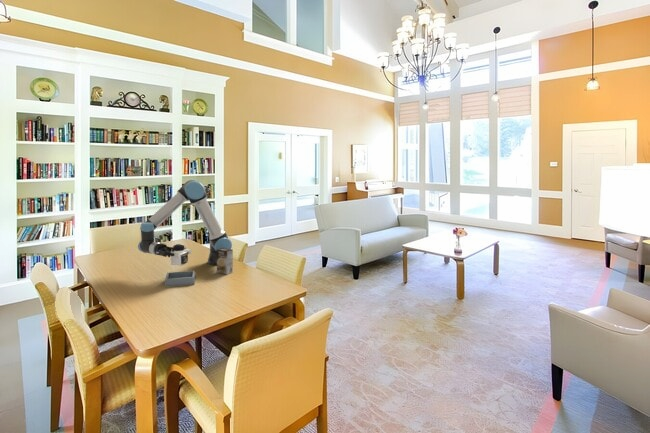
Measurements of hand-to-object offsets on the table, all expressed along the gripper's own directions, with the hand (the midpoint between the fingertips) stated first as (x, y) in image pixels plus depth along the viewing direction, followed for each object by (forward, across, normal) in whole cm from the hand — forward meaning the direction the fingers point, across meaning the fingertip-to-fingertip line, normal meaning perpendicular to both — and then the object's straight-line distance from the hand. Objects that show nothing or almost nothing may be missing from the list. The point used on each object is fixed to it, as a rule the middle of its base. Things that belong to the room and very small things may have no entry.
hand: (184, 253), depth 215 cm
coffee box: (+5, -28, -19) cm, 34 cm away
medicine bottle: (-5, 0, -7) cm, 9 cm away
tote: (-4, 0, -18) cm, 19 cm away
